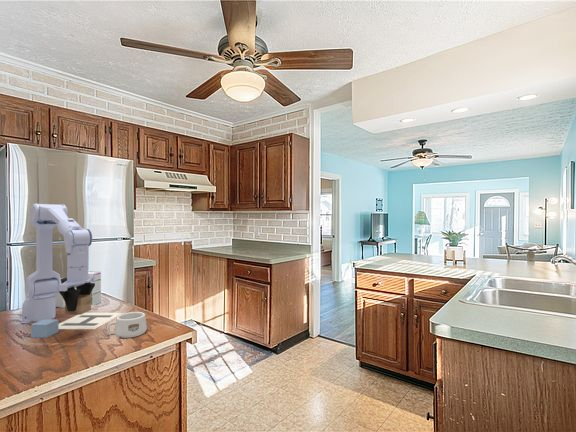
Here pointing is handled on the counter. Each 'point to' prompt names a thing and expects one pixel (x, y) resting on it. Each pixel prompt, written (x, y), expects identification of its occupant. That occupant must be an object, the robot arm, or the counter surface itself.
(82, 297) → the block
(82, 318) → the letter board
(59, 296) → the medicine bottle
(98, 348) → the counter surface
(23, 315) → the robot arm
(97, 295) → the syrup box
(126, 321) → the mug
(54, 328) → the blue cube
